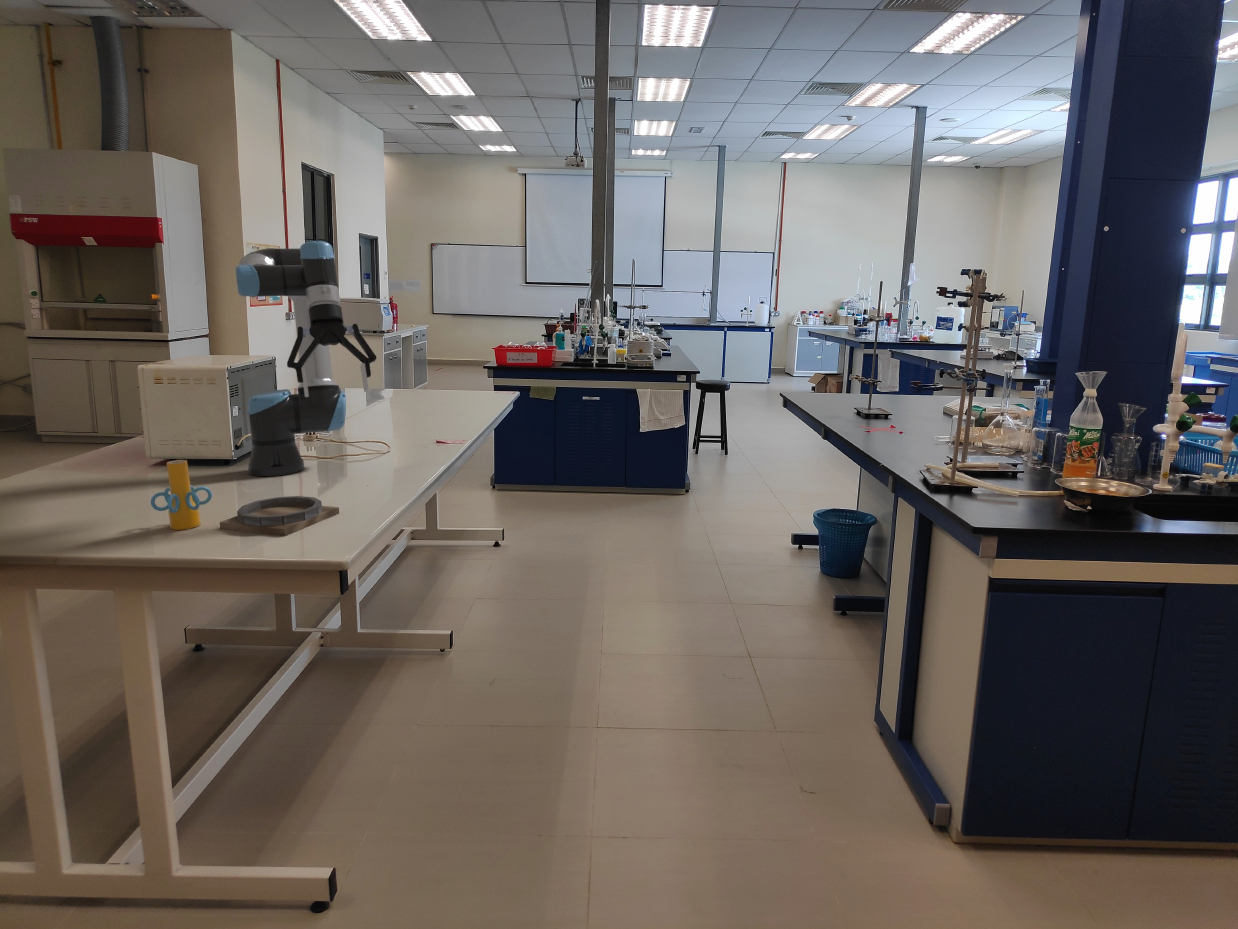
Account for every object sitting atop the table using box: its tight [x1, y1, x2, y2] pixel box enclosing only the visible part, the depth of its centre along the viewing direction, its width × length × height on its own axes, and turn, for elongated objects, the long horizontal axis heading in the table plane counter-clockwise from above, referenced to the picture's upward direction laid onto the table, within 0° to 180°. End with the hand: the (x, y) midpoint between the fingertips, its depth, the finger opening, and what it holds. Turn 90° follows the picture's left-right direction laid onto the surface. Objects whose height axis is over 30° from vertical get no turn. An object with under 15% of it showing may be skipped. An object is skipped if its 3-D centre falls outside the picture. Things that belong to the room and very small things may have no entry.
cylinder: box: [150, 459, 213, 531], centre depth 176 cm, size 12×10×15 cm
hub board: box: [219, 495, 340, 537], centre depth 181 cm, size 18×18×4 cm
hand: (337, 393), depth 188 cm, fingers open, 13 cm apart
